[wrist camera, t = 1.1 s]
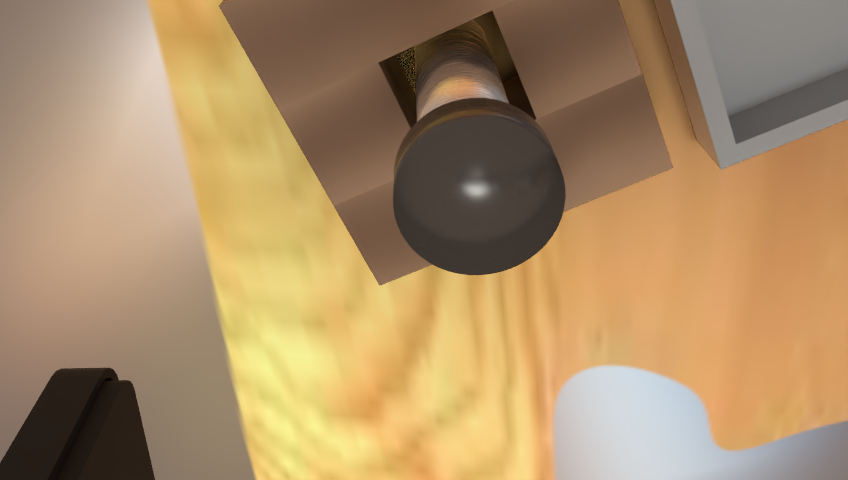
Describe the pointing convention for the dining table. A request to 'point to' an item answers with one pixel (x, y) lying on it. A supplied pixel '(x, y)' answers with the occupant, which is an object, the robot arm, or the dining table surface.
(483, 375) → the dining table surface
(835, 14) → the grey tray
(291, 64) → the walnut block
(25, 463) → the robot arm
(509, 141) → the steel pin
